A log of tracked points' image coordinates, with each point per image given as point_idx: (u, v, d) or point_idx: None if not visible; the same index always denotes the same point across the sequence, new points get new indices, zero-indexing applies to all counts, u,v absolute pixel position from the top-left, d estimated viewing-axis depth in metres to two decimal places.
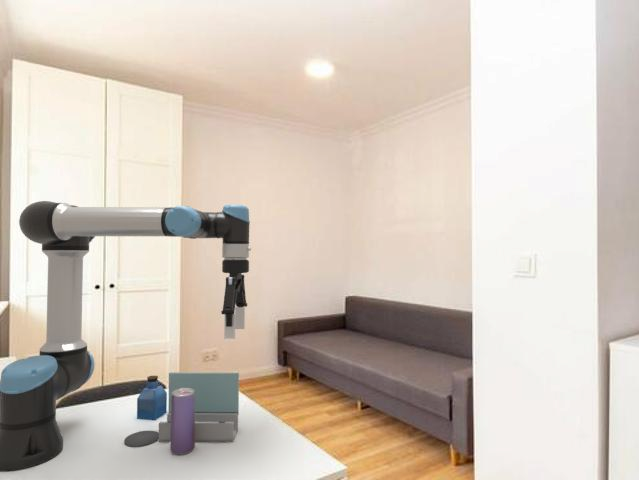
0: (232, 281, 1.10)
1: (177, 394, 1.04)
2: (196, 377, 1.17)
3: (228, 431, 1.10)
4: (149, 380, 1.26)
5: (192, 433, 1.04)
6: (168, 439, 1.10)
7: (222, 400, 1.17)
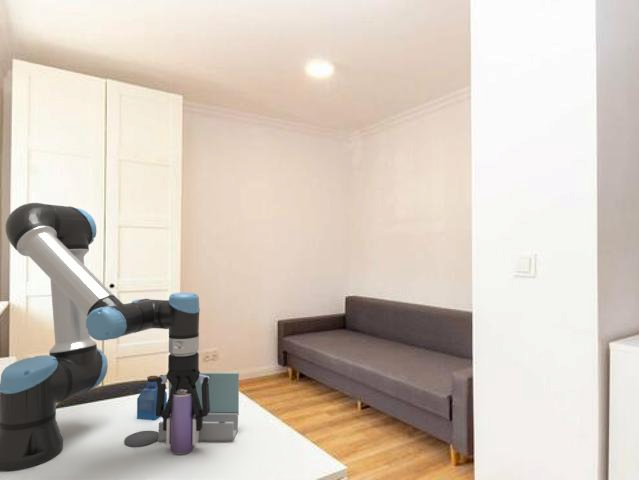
0: None
1: (177, 394, 1.04)
2: None
3: (228, 431, 1.10)
4: (149, 380, 1.26)
5: (192, 433, 1.04)
6: None
7: (222, 400, 1.17)
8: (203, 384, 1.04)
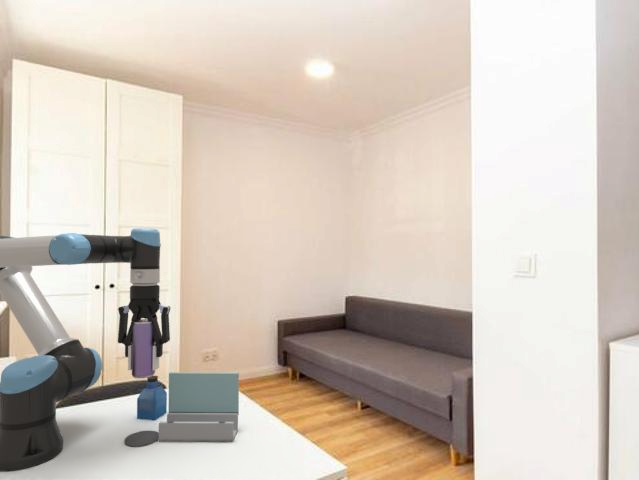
0: None
1: (138, 322, 1.10)
2: (196, 377, 1.17)
3: (228, 431, 1.10)
4: (149, 380, 1.26)
5: (152, 359, 1.11)
6: (168, 439, 1.10)
7: (222, 400, 1.17)
8: (163, 313, 1.11)
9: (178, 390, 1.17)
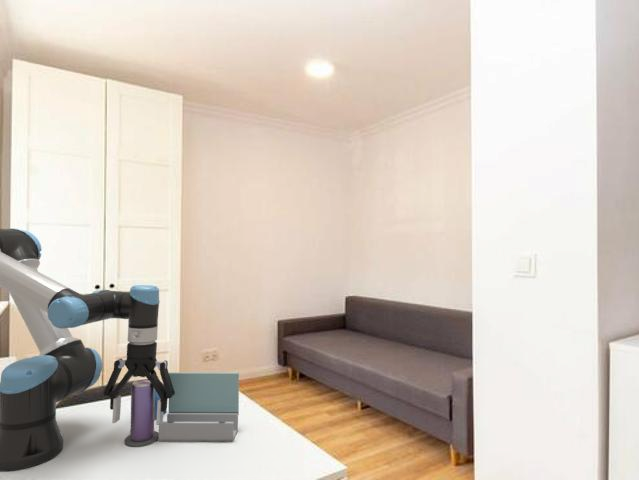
0: None
1: (137, 384, 1.10)
2: (196, 377, 1.17)
3: (228, 431, 1.10)
4: None
5: (151, 421, 1.10)
6: (168, 439, 1.10)
7: (222, 400, 1.17)
8: (161, 369, 1.10)
9: (178, 390, 1.17)
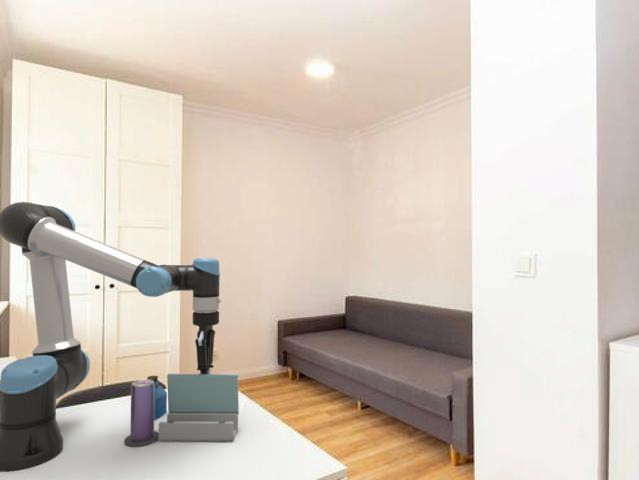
0: (202, 344, 1.14)
1: (136, 384, 1.10)
2: (195, 379, 1.16)
3: (228, 431, 1.10)
4: None
5: (151, 421, 1.10)
6: (168, 439, 1.10)
7: (221, 401, 1.16)
8: (213, 335, 1.24)
9: (177, 391, 1.16)
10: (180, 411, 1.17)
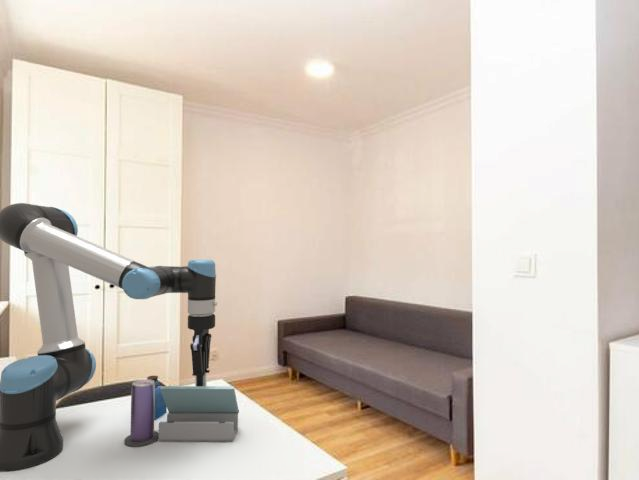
0: (197, 349, 1.09)
1: (137, 384, 1.10)
2: (189, 391, 1.11)
3: (228, 431, 1.10)
4: None
5: (151, 421, 1.10)
6: (168, 439, 1.10)
7: (220, 405, 1.15)
8: (210, 339, 1.20)
9: (173, 399, 1.13)
10: (180, 411, 1.17)
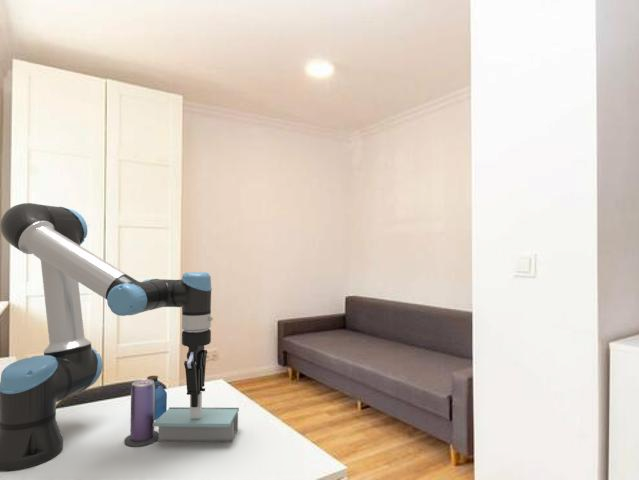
0: (191, 366, 1.04)
1: (136, 384, 1.10)
2: None
3: (228, 431, 1.10)
4: None
5: (151, 421, 1.10)
6: (168, 439, 1.10)
7: None
8: (205, 356, 1.15)
9: None
10: None
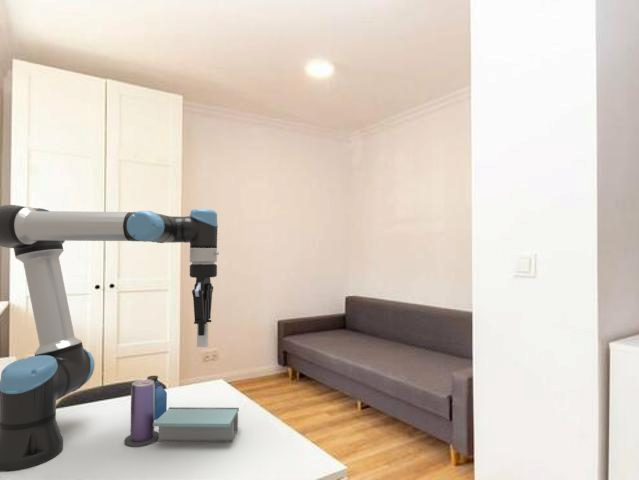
0: (199, 294, 1.10)
1: (137, 384, 1.10)
2: None
3: (228, 431, 1.10)
4: None
5: (151, 421, 1.10)
6: (168, 439, 1.10)
7: None
8: (211, 291, 1.21)
9: None
10: None
